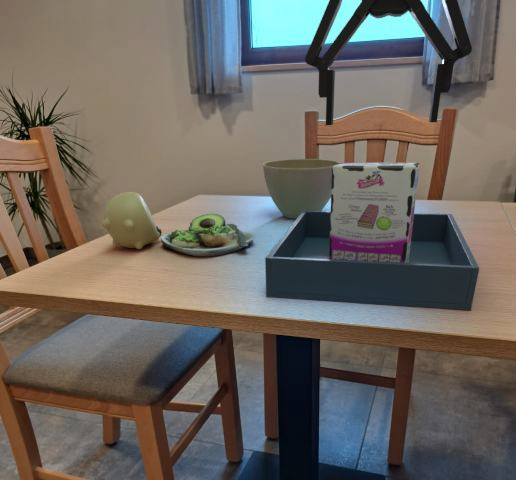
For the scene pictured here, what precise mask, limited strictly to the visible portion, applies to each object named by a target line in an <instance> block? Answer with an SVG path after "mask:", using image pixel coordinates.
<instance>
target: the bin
mask: <svg viewBox="0 0 516 480" xmlns="http://www.w3.org/2000/svg"><path fill="white" fill-rule="evenodd" d="M330 216H331V210H330V211H329V210H328V211H327V210H322V211H303V212H302V213H301V214H300V215H299V217H298V218H297V219H294V221H293V223H292V224H291V225H290V226H289V228H288V229H287V230H286V232H285V233H284V234H283V235H282V237H281V238H280V239H279V240H278V242H277V243H276V244H275V246H274V247H272V249H271V250H270V252H269V253H268V254H267V255H266V256H265V261H264V263H265V266H264V267H265V297H266V298H278V299H279V298H280V299H296V300H307V301H308V300H309V301H310V300H311V301H322V302H323V301H325V302H337V303H338V302H339V303H351V304H352V303H354V304H355V303H356V304H367V305H383V306H384V305H385V306H396V307H397V306H398V307H413V308H414V307H415V308H427V309H441V310H442V309H443V310H458V311H460V310H461V311H472V307H473V302H474V299H475V298H474V297H475V294H476V293H475V292H476V288H477V282H478V277H479V272H480V267H479V265H478V263H477V260H476V258H475V257H474V255H473V253H472V251H471V249H470V247H469V245H468V243H467V241H466V240H465V237H464V235H463V233H462V231H461V229H460V227H459V226H458V223H457V221H456V219H455V218H454V216H453V214H452V213H424V212H423V213H421V212H420V213H419V212H418V213H417V212H416V213H415V212H414V218H413V228H412V236H411V246H410V254H409V263H398V262H376V261H354V260H333V259H329V244H330Z"/></svg>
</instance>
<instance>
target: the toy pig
mask: <svg viewBox="0 0 516 480" xmlns="http://www.w3.org/2000/svg"><path fill="white" fill-rule="evenodd" d="M101 226H102V227H103V228H104V229H106V231H107V233H108V235H109V236H110V237H111V238H112V246H113V247H114V248H119V247H121V246H122V247H125V248H128V249H136V250H141V249H142V248H143V247H144V246H146V245H151V244H154V243H156V242H158V240H159V239H160V238H161V237H162V234H163V232H162V229H161V228H160V227H159V226H157V224H156V222H155V219H154V217H153V215H152V212H151V211H150V209H149V207H148V205H147V203H146V201H145V199H144V198H143V197H142V196H141V194H140V193H138V192H135V191H126V192H121V193H119V194H117V195H115V196H113V197H112V198H111V199H110V200H109V201H108V202H107V204H106V206H105V208H104V212H103V221H101Z"/></svg>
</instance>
